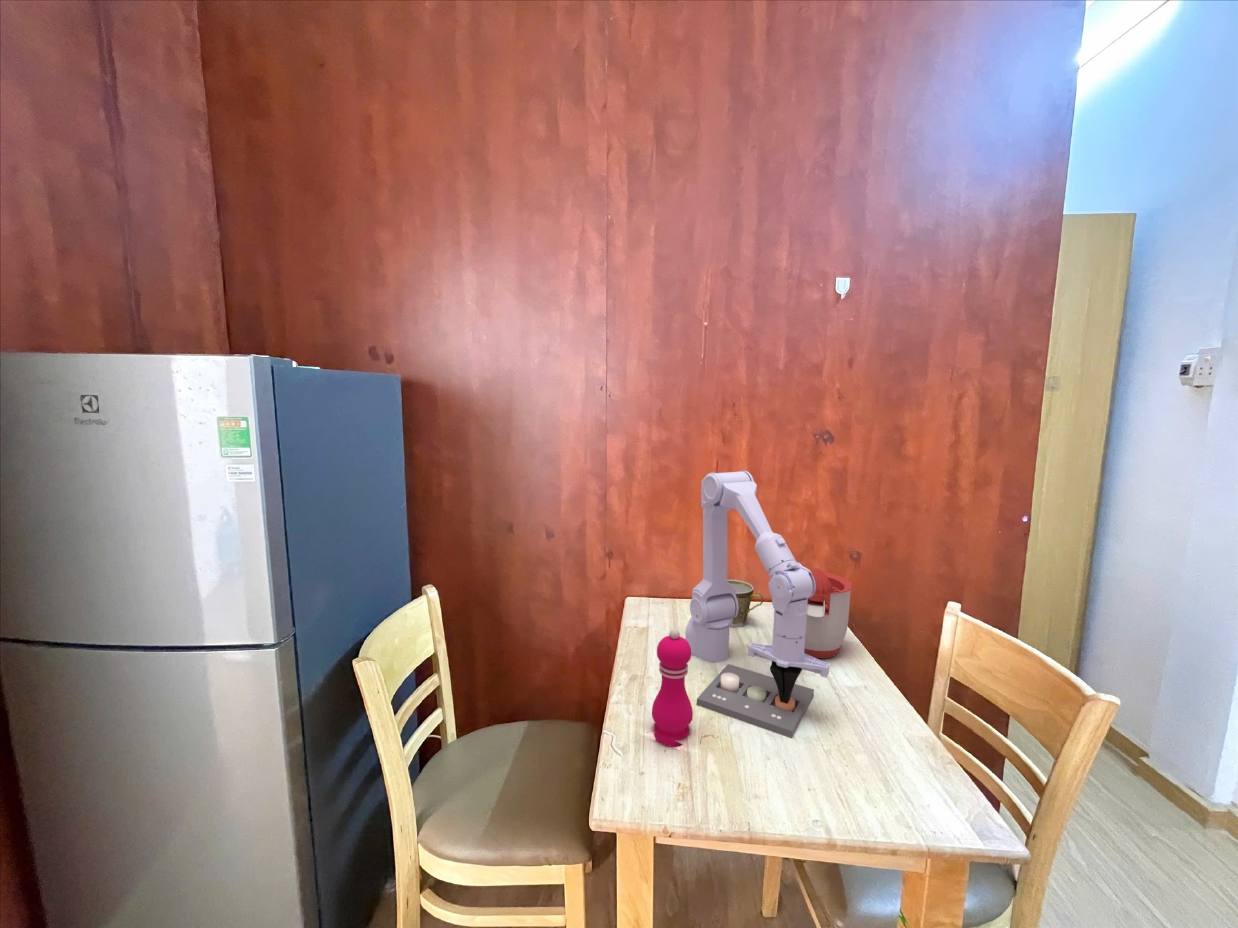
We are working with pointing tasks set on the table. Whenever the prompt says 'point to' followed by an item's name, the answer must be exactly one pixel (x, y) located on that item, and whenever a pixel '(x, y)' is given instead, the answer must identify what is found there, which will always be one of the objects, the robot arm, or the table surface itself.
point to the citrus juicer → (827, 615)
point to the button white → (730, 682)
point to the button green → (756, 693)
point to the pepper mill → (672, 691)
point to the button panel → (756, 702)
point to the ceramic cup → (743, 601)
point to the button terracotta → (789, 706)
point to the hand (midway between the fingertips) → (785, 700)
